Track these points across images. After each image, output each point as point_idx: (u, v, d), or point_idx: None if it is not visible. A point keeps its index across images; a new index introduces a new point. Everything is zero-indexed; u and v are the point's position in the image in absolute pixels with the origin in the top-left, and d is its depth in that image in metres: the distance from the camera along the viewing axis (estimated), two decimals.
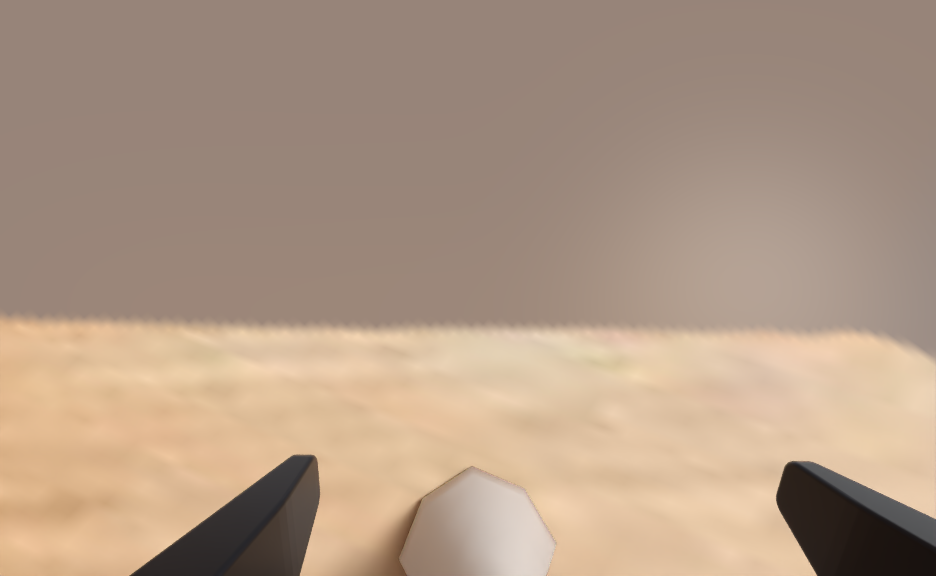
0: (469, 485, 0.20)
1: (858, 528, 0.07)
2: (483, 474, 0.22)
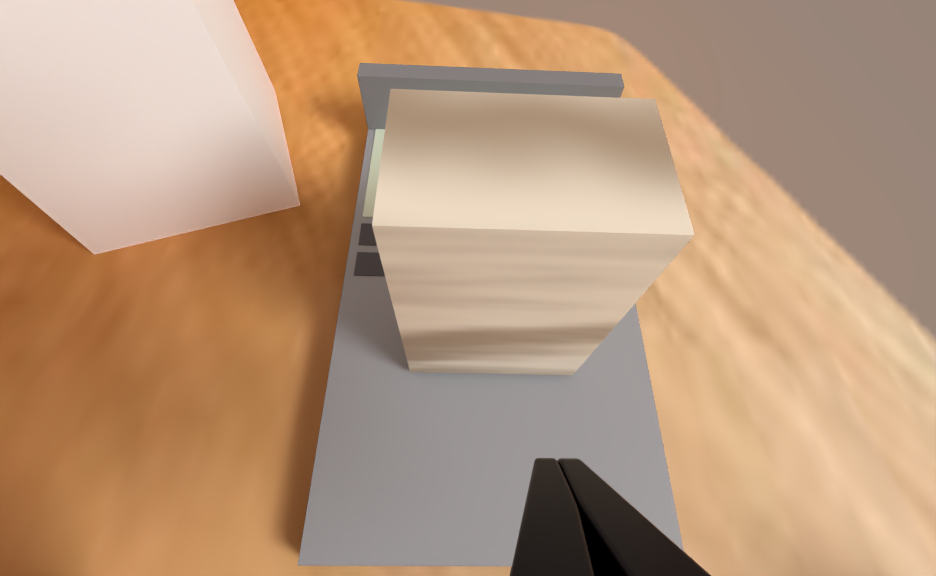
0: None
1: (585, 526, 0.07)
2: None
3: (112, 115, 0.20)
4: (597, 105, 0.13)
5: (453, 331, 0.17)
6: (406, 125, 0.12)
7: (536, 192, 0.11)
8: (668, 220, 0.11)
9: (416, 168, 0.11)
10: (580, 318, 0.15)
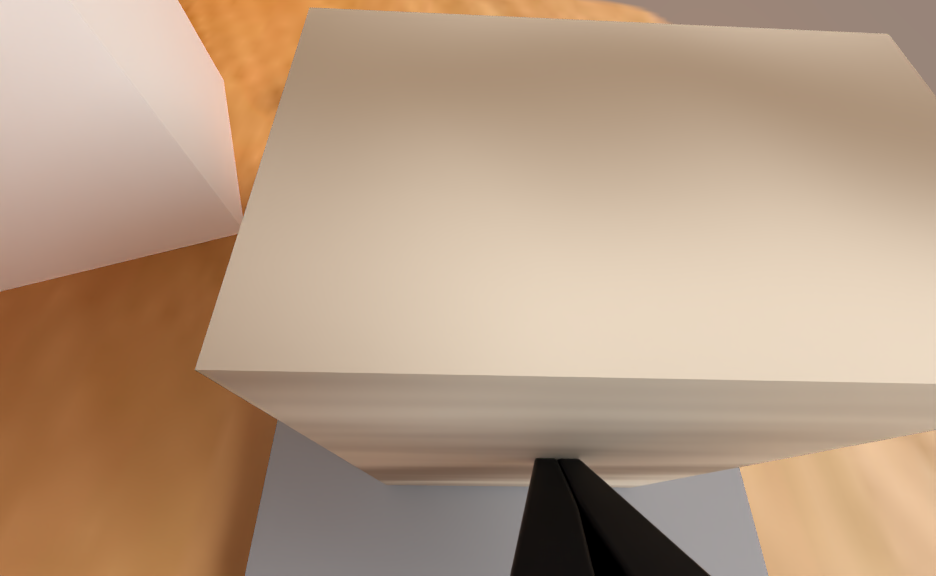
0: None
1: (585, 526, 0.07)
2: None
3: None
4: (771, 45, 0.06)
5: (451, 467, 0.09)
6: (336, 83, 0.05)
7: (673, 256, 0.04)
8: None
9: (350, 189, 0.04)
10: (688, 461, 0.08)
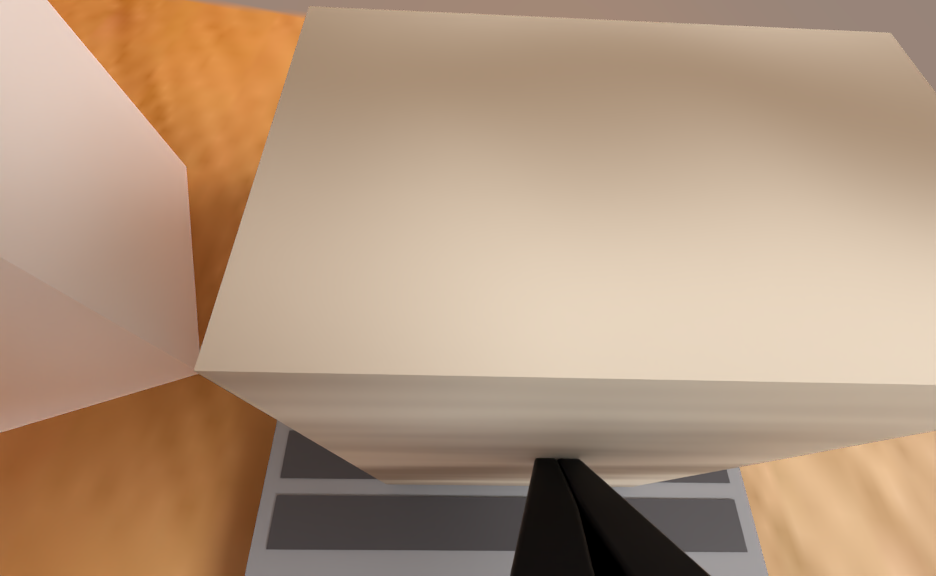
0: None
1: None
2: None
3: None
4: (772, 44, 0.06)
5: (451, 467, 0.09)
6: (336, 83, 0.05)
7: (674, 257, 0.04)
8: None
9: (349, 188, 0.04)
10: (688, 461, 0.08)
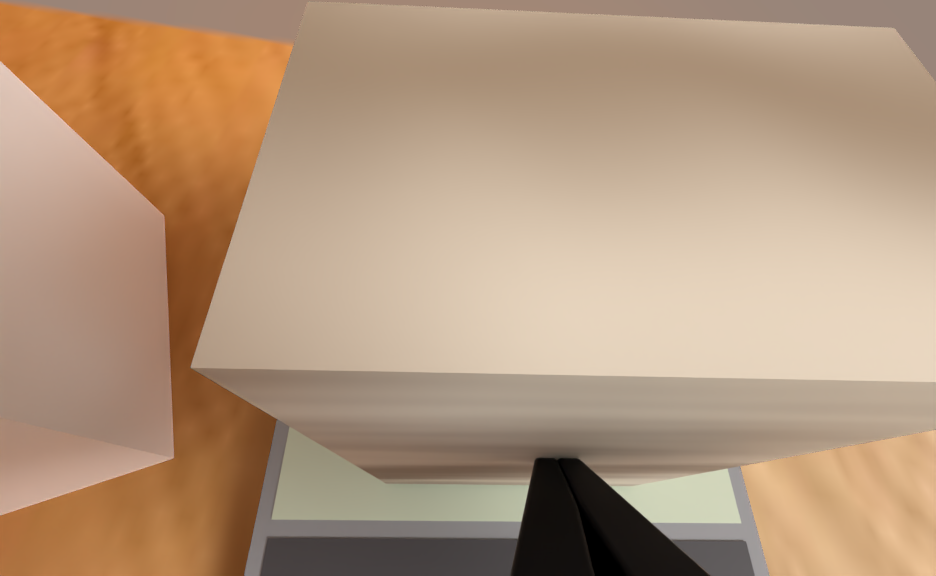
0: None
1: (585, 525, 0.07)
2: None
3: None
4: (775, 39, 0.06)
5: (451, 466, 0.09)
6: (334, 78, 0.05)
7: (678, 253, 0.04)
8: None
9: (348, 184, 0.04)
10: (690, 460, 0.08)
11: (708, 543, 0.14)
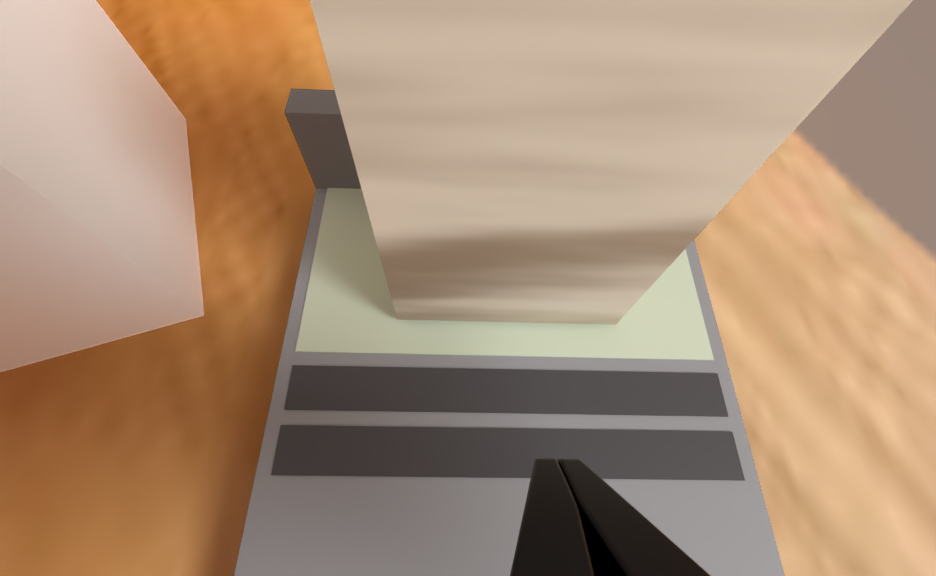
0: None
1: (585, 526, 0.07)
2: None
3: None
4: None
5: (456, 241, 0.11)
6: None
7: None
8: None
9: None
10: (656, 210, 0.10)
11: (684, 374, 0.15)
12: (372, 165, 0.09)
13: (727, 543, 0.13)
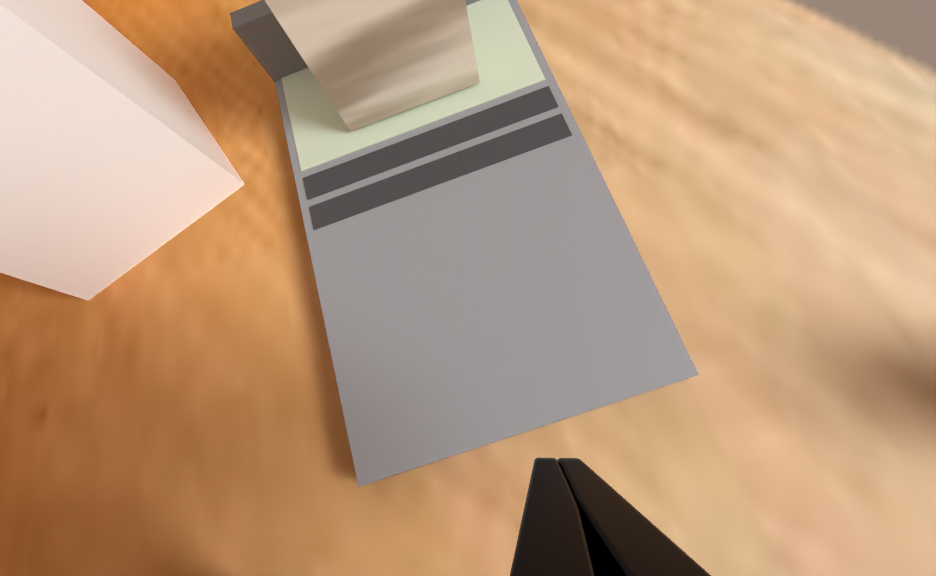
0: None
1: None
2: None
3: (19, 165, 0.20)
4: None
5: (344, 44, 0.20)
6: None
7: None
8: None
9: None
10: None
11: (528, 94, 0.24)
12: (278, 7, 0.18)
13: (565, 168, 0.23)
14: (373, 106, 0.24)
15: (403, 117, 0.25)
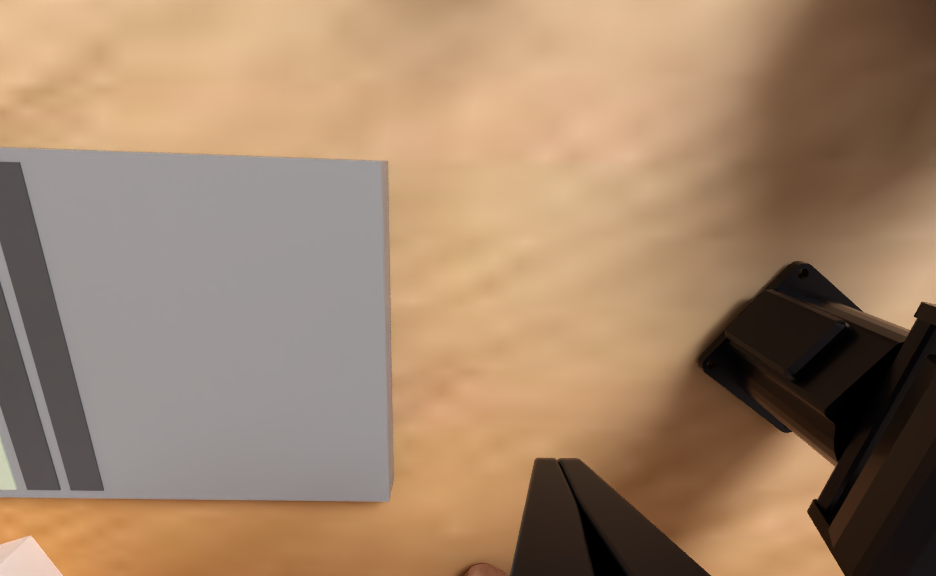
0: None
1: (585, 526, 0.07)
2: None
3: None
4: None
5: None
6: None
7: None
8: None
9: None
10: None
11: None
12: None
13: (74, 191, 0.17)
14: None
15: None
